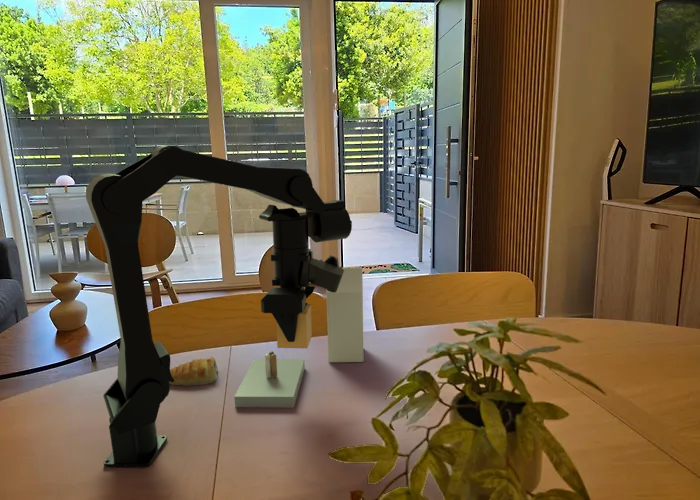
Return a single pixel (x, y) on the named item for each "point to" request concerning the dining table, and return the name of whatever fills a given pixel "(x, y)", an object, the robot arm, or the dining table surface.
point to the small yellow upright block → (297, 331)
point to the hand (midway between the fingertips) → (294, 335)
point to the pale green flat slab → (271, 383)
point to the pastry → (195, 372)
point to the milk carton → (346, 318)
